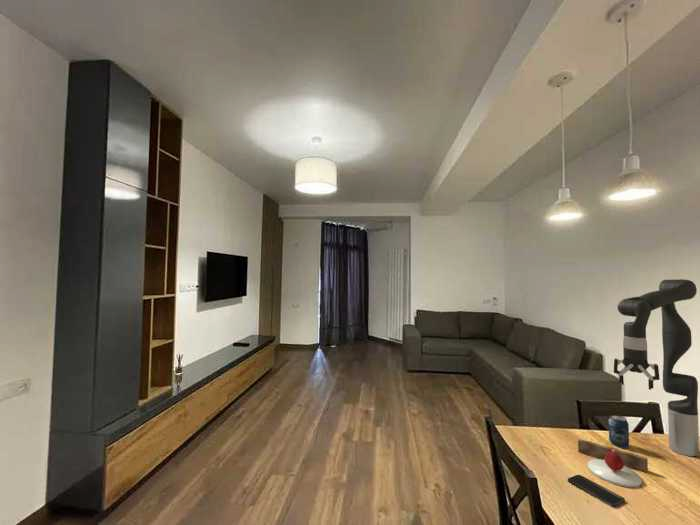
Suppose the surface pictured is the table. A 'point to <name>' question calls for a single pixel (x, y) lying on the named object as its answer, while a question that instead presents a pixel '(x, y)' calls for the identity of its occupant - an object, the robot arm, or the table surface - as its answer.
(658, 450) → the table surface
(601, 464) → the plate
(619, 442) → the soda can
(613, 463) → the onion
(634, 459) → the wooden plank
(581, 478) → the phone
